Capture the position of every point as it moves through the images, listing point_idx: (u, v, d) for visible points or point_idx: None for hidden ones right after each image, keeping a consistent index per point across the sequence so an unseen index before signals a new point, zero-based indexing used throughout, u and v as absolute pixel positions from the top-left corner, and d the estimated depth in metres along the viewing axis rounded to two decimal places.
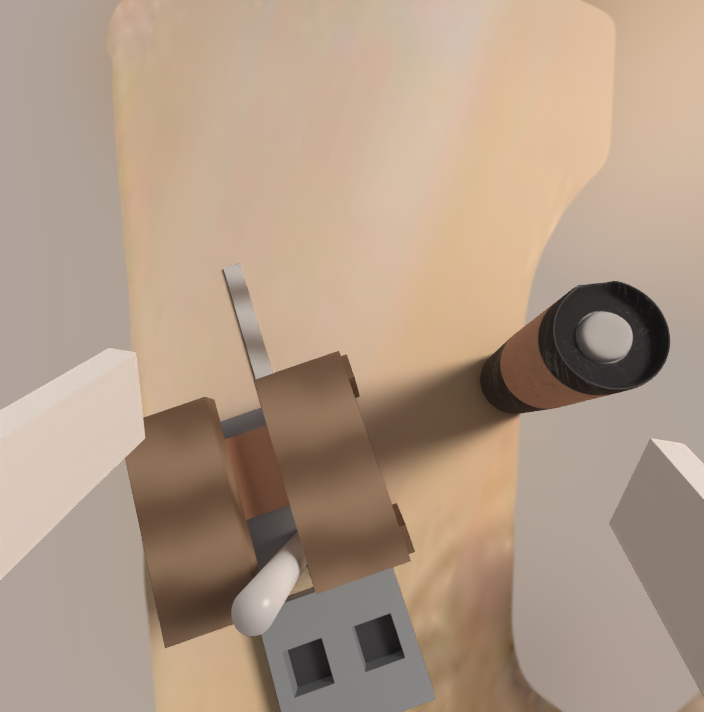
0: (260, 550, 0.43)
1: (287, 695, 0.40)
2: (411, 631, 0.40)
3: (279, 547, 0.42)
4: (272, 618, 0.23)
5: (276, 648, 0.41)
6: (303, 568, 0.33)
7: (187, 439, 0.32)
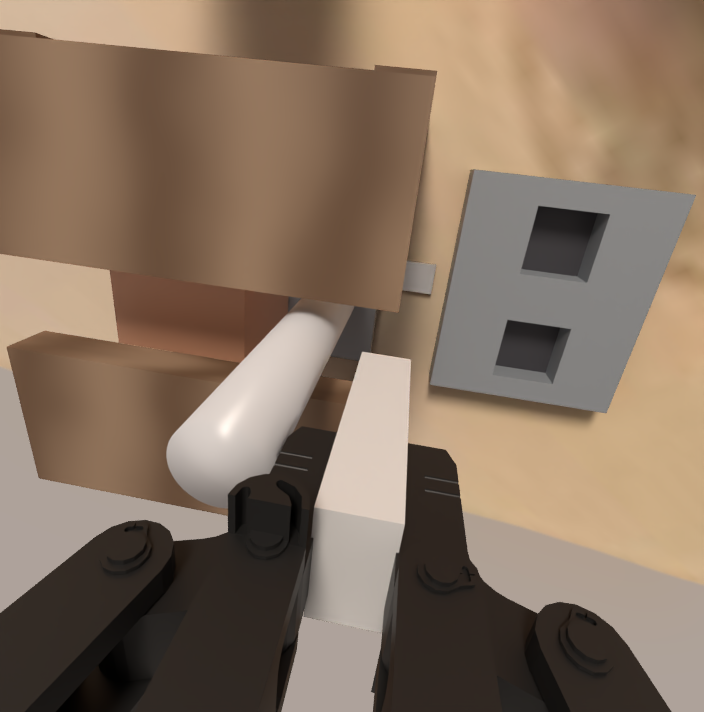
0: (337, 343, 0.30)
1: (544, 390, 0.29)
2: (583, 185, 0.24)
3: None
4: (243, 438, 0.09)
5: (484, 379, 0.29)
6: (332, 304, 0.18)
7: (74, 400, 0.18)
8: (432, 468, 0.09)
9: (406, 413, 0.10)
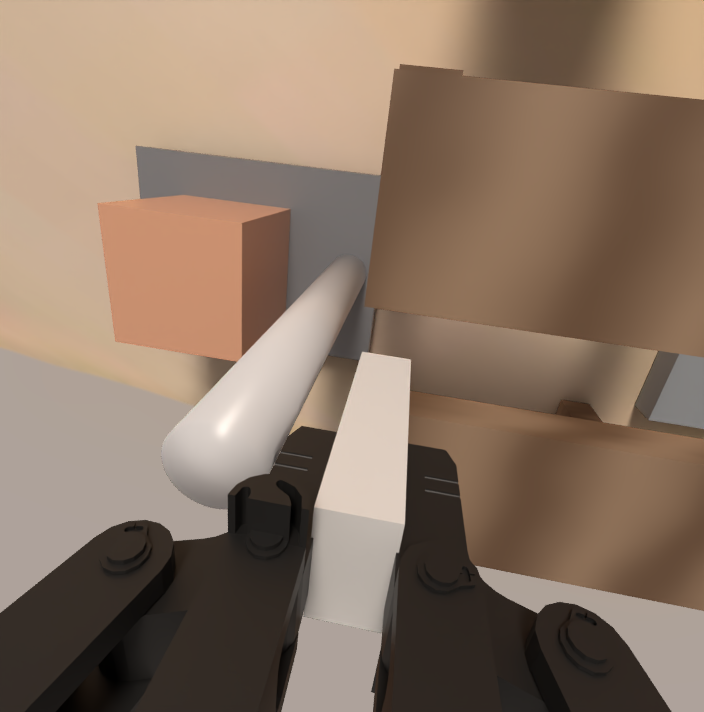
0: (335, 342, 0.30)
1: None
2: None
3: None
4: (239, 438, 0.09)
5: None
6: (330, 303, 0.18)
7: None
8: (432, 468, 0.09)
9: (406, 413, 0.10)
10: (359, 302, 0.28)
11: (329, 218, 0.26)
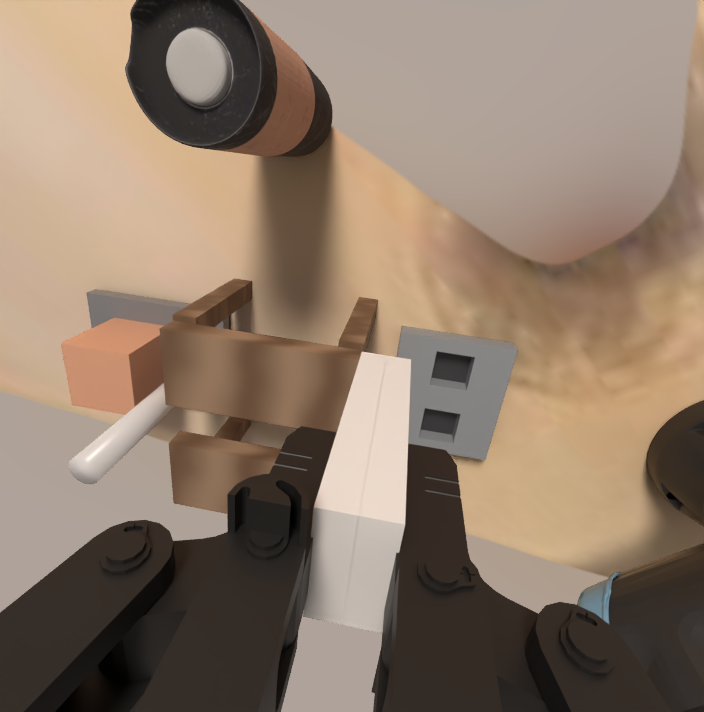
0: None
1: (448, 447, 0.49)
2: (459, 342, 0.44)
3: None
4: (90, 462, 0.31)
5: (414, 439, 0.49)
6: None
7: (198, 467, 0.39)
8: (432, 468, 0.09)
9: (406, 413, 0.10)
10: None
11: None
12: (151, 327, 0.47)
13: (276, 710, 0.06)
